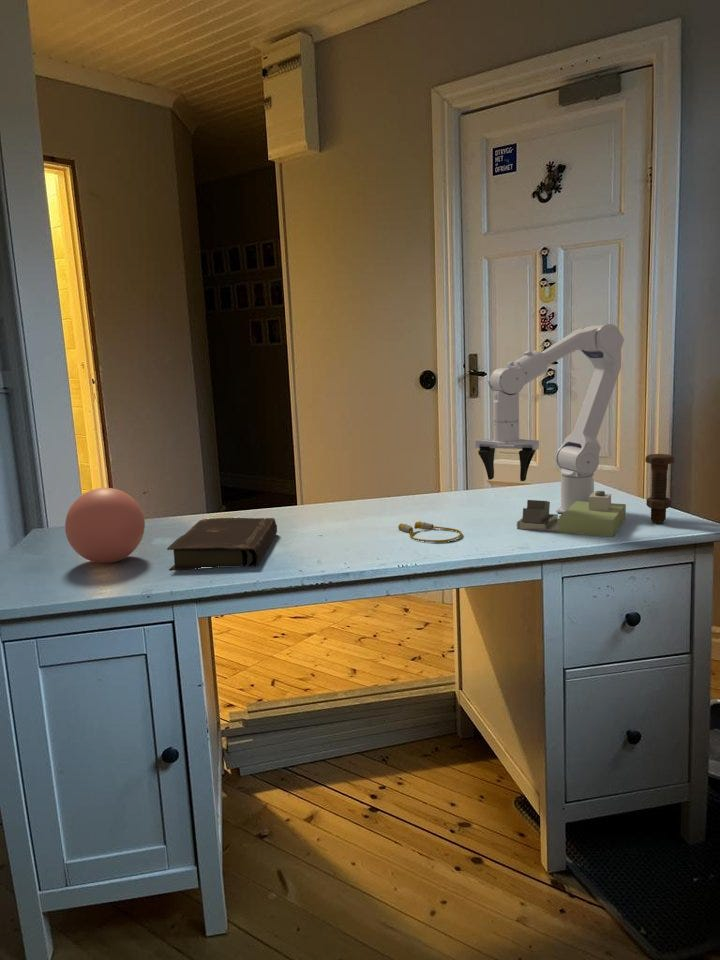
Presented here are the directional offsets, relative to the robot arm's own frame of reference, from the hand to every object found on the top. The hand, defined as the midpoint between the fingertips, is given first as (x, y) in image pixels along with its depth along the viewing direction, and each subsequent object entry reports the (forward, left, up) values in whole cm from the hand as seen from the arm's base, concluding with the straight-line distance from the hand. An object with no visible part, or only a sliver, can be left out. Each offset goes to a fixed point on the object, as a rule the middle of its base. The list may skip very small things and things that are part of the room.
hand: (506, 479), depth 168 cm
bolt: (-7, +32, -10) cm, 34 cm away
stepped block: (+5, +8, -8) cm, 13 cm away
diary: (+45, -47, -10) cm, 66 cm away
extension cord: (+18, -11, -10) cm, 24 cm away
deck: (0, +20, -9) cm, 22 cm away
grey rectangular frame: (+3, +9, -9) cm, 14 cm away
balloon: (+58, -67, -10) cm, 89 cm away
